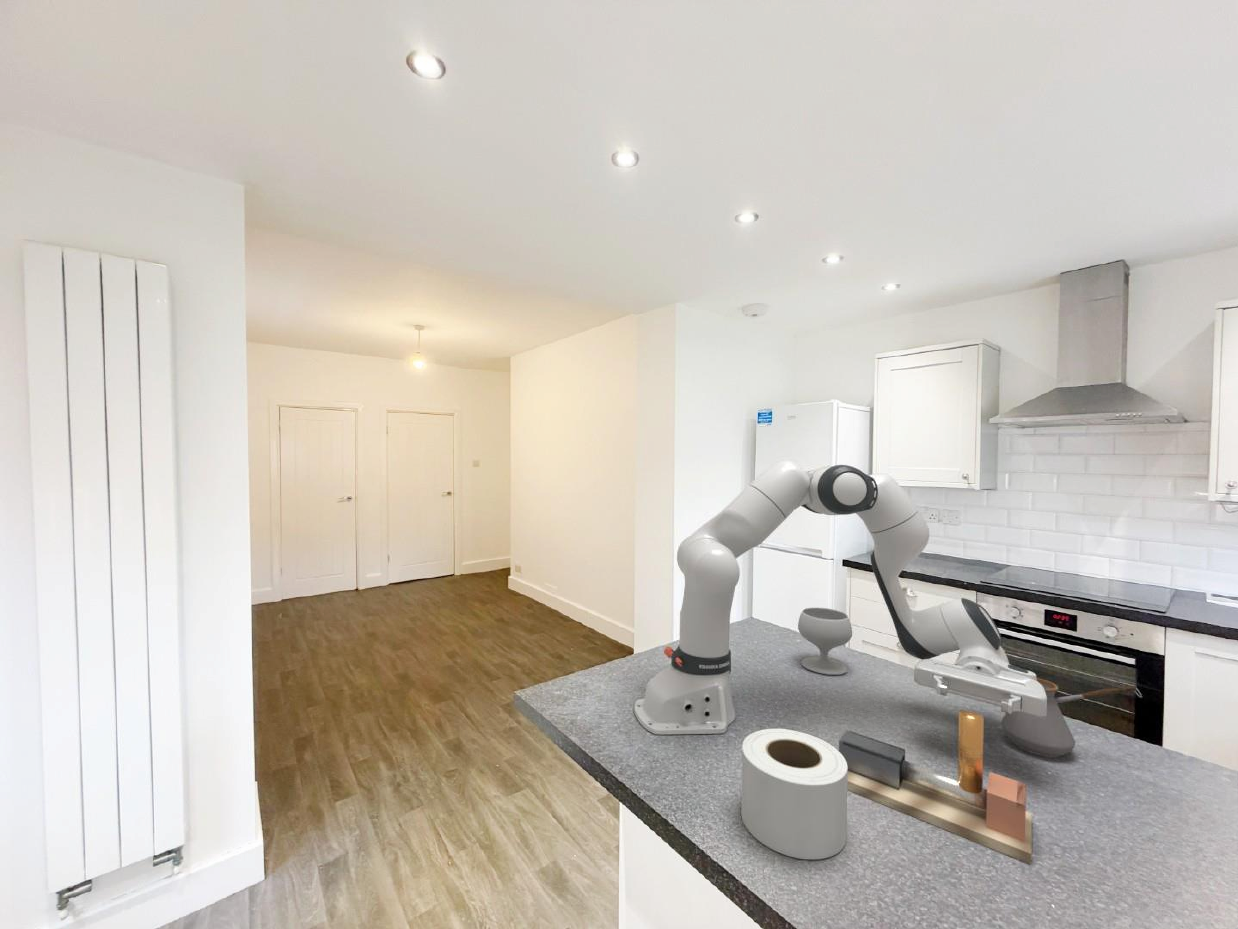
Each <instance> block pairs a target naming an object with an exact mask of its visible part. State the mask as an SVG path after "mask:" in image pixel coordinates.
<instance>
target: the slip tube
mask: <svg viewBox="0 0 1238 929" xmlns="http://www.w3.org/2000/svg"><path fill="white" fill-rule="evenodd" d="M984 718H985V717H984V716H983V715H982V714H980V713H979V712H977V711H973V710H968V709H961V710H958V746H957V747H958V748H957V750H958V751H957V752H958V756H957V757H958V760H957V761H958V762H957V763H958V764H957V777H953V776H951V775H948V774H945V773H942V772H939V771H936V770H935V769H930V768H928V767H924V766H921V765H919V764H917V763H912V762H910V761H907V760H906V759H905V760H901V762H900V779H902V780H905V781H907V782H910V783H913V784H915V785H918V786H921V787H924V788H926V789H929V790H932V791H934V792H937V793H940V794H942V795H945V796H948V797H951V798H953V799H956V800H959V801H961V802H964V803H967V804H969V805H972V806H975V807H978V808H980V809H983V810H986V811H987V788H986V787H984V786H983V785H984V777H983V776H984V732H985V730H984V729H985V728H984V722H985V721H984V720H985V719H984Z"/></svg>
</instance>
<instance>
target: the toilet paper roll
mask: <svg viewBox="0 0 1238 929" xmlns="http://www.w3.org/2000/svg"><path fill="white" fill-rule="evenodd" d="M847 776H848V766H847V762H846V760H845V758H844V757H843V755H842V754H841V753H840V752H839V749H837V748H836V747H835V746H833V745H831V744H830V743H828V742H827V741H825V740H823V739H821V738H819V737H816V736H814V735H811V734H808V733H806V732H802V731H798V730H793V729H787V728H766V729H760V730H756V731H754V732H752V733H750V734H748V735H747V736H746V737H745V738H744V739H743V742H742V746H741V793H740V794H741V796H740V797H741V799H740V800H741V801H740V802H741V804H740V805H741V806H740V807H741V808H740V809H741V810H740V812H741V813H740V814H741V819H742V822H743V824H744V826H745V828H746V829H747V830H748V832H749V833H750V834H751V836H753V837H754V838H755V839H756V840H757V841H759V842H760V843H761V844H763V845H764V846H766V847H767V848H769V849H771V850H773V851H775V852H777V853H779V854H781V855H784V856H788V857H791V858H795V859H800V860H824V859H827V858H832V857H833V856H835V855H837V854H838V853H840V852H841V851H842V850H843V848H844V847H845V845H846V842H847V839H848V838H847V834H848V833H847V832H848V830H847V828H848V827H847V826H848V825H847V824H848V822H847V821H848V818H847V817H848V790H847Z"/></svg>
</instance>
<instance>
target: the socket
mask: <svg viewBox="0 0 1238 929" xmlns="http://www.w3.org/2000/svg"><path fill="white" fill-rule="evenodd" d="M987 782H988V783H987V788H986V789H987V815H986V827H987V828H989V829H992V830H994V831H997V832H999V833H1002V834H1005V835H1007V836H1010V837H1012V838H1015V839H1017V840H1020V841H1023V842H1025V820H1026V811H1027V810H1026V809H1027V808H1026V806H1027V804H1026V803H1027V783H1025V782H1021V781H1019V780H1015V779H1013V778H1009V777H1006V776H1003V775H1000V774H997V773H994V772H992V771H989V775H988V781H987Z"/></svg>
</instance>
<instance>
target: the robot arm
mask: <svg viewBox="0 0 1238 929" xmlns="http://www.w3.org/2000/svg"><path fill="white" fill-rule="evenodd" d="M800 507H803V508H804V509H806V510H808V511H809V512H812V513H815V514H820V515H825V516H841V515H842V516H844V515H853V514H856V515H857V516H858V517H859V518H860V519H861V520H862V521H863V523H864V525H865V527H866V529H867V530H868V532H869V533H870V535H871V538H872V540H873V544H874V545H873V547H874V549H873V551H872V552H871V554H870V564H871V568H872V570H873V575H874V576H875V580H876V581H877V585H878V587H879V589H880V590H879V591H880V592H881V595H882V597H883V601H884V602H885V605H886V607H887V610H888V612H889V614H890V617H891V619H892V622H893V625H894V629H895V631H896V636H897V640H898V641H899V643H900V645H901V647H902V649H903V650H904V651H905V653H907V654H909V655H910V656H913V658H916V659H918V660H919V661H918V662H917V663H916V664H914V668H913V679H914V680H913V681H914V682H915V683H916V684H917V685H919V686H922V687H927V688H931V689H933V690H935V691H936V694H937V695H940V696H944V697H947V695H948V693H949V694H953V695H956V696H960V697H964V698H968V699H972V700H975V701H978V702H983V703H987V704H989V705H994V706H996V707H1001V708H1000V712H1001V713H1002V712H1003V713H1005V714H1006V713H1009V714H1012V712H1014V711H1019V712H1022V713H1026V714H1030V715H1033V716H1037V717H1046V714H1047V696H1046V692H1045V690H1044V688H1043V686H1042V685H1041V684H1040V683H1039V682H1037V678H1038V677H1037V674H1036V673H1035V672H1033V671H1031V670H1027V669H1025V668H1022V667H1019V666H1016V665H1013V664H1010V661H1009V659H1008V656H1007V654H1006V652H1005V649H1004V648H1003V647H1002V646H1001V644H1002V636H1001V632H1000V630H999V628H998V626H997V624H996V623H995V621H994V619H993V618H992V616H991V614H990V613H989V612H988V611H987V610H986V609H985V607H983V606H982V605H981V604H978V603H977V602H975V601H973V600H971V599H969V598H965V597H961V598H958V599H953V600H952V601H950V600H949V601H947V602H945V603H941V604H938V605H935V606H931V607H929V608H925V609H922V610H914V609H913V610H912V609H911V608H910V605H909V603H908V600H907V598H906V595H905V593H904V591H903V588H902V586H901V583H900V580H899V576H900V573H902V571H903V570H904V569H906V568H907V566H909V565H910V564H911V563H912V562H913V561H914V560H916V559H917V558H918V557H919V556H920V555H921V554H922V552H923V551H924V550H925V548H926V547H927V545H928V542H929V538H930V529H929V526H928V525H927V522H926V520H925V518H924V516H923V514H922V513H921V511H920V510H919V509H918V507H917V505H916V504H915V502H914V501H913V500H912V499H911V497H910V496H909V494H908V493H907V492H906V491H905V489H904V488H902V486H901V485H900V484H899V483H898V482H897V481H896V480H895V479H894V478H893V477H892V476H891V475H888V474H886V473H873V474H870V475H868V474H867V473H864V472H863V471H862V470H860V468H859V469H858V468H857V467H854V466H851V465H847V464H837V465H827V466H822V467H819V468H816V469H812V470H809V471H807V470H804V468H803V467H802V466H800V465H799V464H797V463H795V462H793V461H791V460H781V461H778V462H776V463H775V464H772V465H771V466H770V467H768V468H767V469H765V470H764V471H763V472H761V473H760V474H759V475H758V476H757V477H756V478H754V479H753V480H752V481H751V482H750V483H749V484H748V485H747V486H746V487H745V488H744V489H743V490H742V491H741V492H740V493H739V494H738V495H737V496H736V497H735V498H733V500H732V501H731V502H729V504H728V505H727V506H725V508H723V509H722V510H721V511H719V513H717V514H716V515H715V516H713V517H712V518H711V519H709V520H708V521H706V523H704V524H703V525H701V526H700V527H699V528H698V529H697V530H695V531H694V532H693V533H692V534H691V535H689V536H688V537H686V538H685V539H683V541H681V543H679V546H678V549H677V553H676V561H677V565H678V568H679V570H680V571H681V573H682V574H683V576H684V590H683V598H682V604H681V609H680V611H679V640H678V641H679V644H678V645H677V648H676V649H675V650H674V649H673V648H672V647H671V646H665V648H664V649H663V653H664V654H665V656H667V657H668V659H670V660H671V663H670V664H668V666H667V665H666V667H665V668H664V669H662V670H661V671H660V672H659V673H657V674H656V675H654V676H653V677H652V678H651V679H650V680H649V681H648V682H647V684H646V686H645V691H644V696H643V697H644V698H639V699H637V700H636V701H635V702H634V708H633V712H634V716H635V717H636V719H637V721H638V722H639V723H640V725H641V726H642V727H643V728H644V729H645V730H647V731H649V732H650V733H652V734H654V735H700V734H701V735H704V734H706V735H707V734H710V735H711V734H712V735H713V734H725V733H726V732H727V729H728V726H729V725H730V724H731V723H733V722H734V720H735V719H736V711H735V707H734V703H733V697H732V690H731V678H730V674H731V671H732V651H731V649H730V630H731V629H730V627H731V626H730V625H731V623H730V622H731V611H732V605H733V601H734V597H735V593H736V592H735V591H736V587H737V584H738V583H739V579H740V576H741V575H740V574H741V573H740V572H741V570H740V566H739V564H738V563H739V562H738V560H737V559H738V558H739V557H741V556H742V555H743V554H745V553H746V552H748V551H749V550H752V549H753V548H756V547H757V546H759V545H761V544H763V543H764V541H765V540H767V538H769V537H770V536H771V534H772V533H774V531H775V530H776V529H777V528H779V527H780V525H782V523H784V521H786V520H787V518H789V516H790V515H791V514H792V513H794V511H795V510H796V509H798V508H800ZM955 651H959V653H958V655H957V658H956V659H955V662H954V664H953V663H950V662H946V661H945V662H944V661H941V660H936V659H934V658H936V657H939V656H941V655H944V654H948V653H952V652H955Z"/></svg>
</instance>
